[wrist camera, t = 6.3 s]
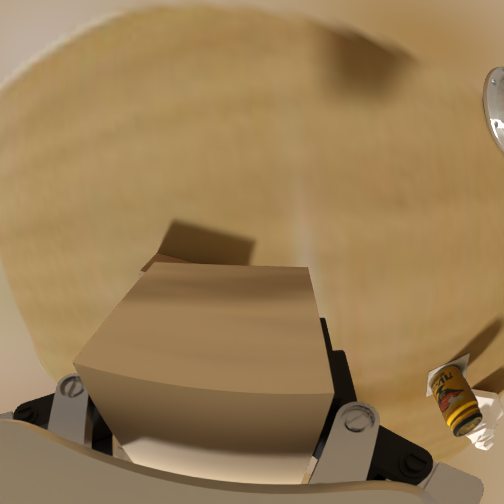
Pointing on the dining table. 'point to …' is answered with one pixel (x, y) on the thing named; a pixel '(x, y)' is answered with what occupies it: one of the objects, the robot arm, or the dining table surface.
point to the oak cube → (214, 372)
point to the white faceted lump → (486, 419)
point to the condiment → (455, 396)
